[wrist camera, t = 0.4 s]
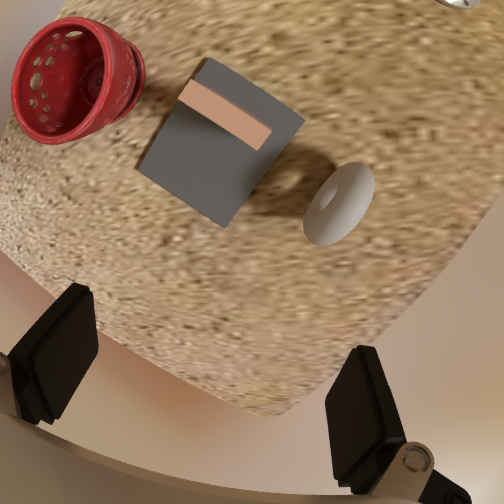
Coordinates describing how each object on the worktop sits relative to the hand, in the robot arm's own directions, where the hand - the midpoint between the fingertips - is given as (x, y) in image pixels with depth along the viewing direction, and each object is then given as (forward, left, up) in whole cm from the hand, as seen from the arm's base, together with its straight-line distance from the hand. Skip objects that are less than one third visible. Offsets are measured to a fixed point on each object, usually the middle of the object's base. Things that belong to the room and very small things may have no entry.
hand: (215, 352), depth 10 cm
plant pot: (0, -22, -29) cm, 37 cm away
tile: (-5, -6, -28) cm, 29 cm away
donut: (-4, +8, -29) cm, 30 cm away
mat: (-1, -6, -29) cm, 29 cm away
